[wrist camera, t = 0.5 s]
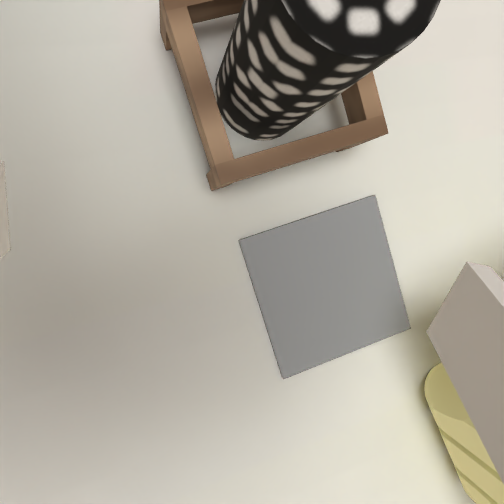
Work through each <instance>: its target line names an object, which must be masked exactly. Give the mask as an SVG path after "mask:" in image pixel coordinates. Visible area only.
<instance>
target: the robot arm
mask: <svg viewBox="0 0 504 504" xmlns="http://www.w3.org/2000/svg"><path fill="white" fill-rule="evenodd" d="M10 250H11V248H10V235H9V222H8V208H7V195H6V182H5V169H4V161H0V259H2V258H3V257H4V256H5V255H6V254H7V253H8V252H9V251H10ZM426 332H427V334H428V336H429V338H430V340H431V342H432V344H433V346H434V348H435V350H436V352H437V354H438V356H439V358H440V360H441V362H442V364H443V366H444V368H445V370H446V372H447V374H448V376H449V378H450V380H451V382H452V384H453V385H454V387H455V389H456V391H457V393H458V395H459V397H460V399H461V401H462V403H463V405H464V407H465V409H466V411H467V413H468V415H469V417H470V419H471V421H472V423H473V425H474V427H475V429H476V431H477V433H478V435H479V437H480V439H481V441H482V443H483V445H484V447H485V449H486V451H487V453H488V455H489V457H490V459H491V460H492V462H493V464H494V466H495V468H496V470H497V472H498V474H499V476H500V478H501V480H502V482H503V484H504V281H503V280H502V279H501V278H500V276H499V275H498V274H497V273H496V272H495V271H494V270H493V269H492V267H490V266H485V265H481V264H476V263H471V262H466V264H465V265H464V267H463V269H462V271H461V272H460V274H459V276H458V278H457V279H456V281H455V283H454V284H453V286H452V288H451V290H450V291H449V293H448V295H447V297H446V298H445V300H444V302H443V304H442V305H441V307H440V309H439V311H438V312H437V314H436V316H435V317H434V319H433V321H432V323H431V324H430V326H429V328H428V330H427V331H426Z"/></svg>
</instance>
